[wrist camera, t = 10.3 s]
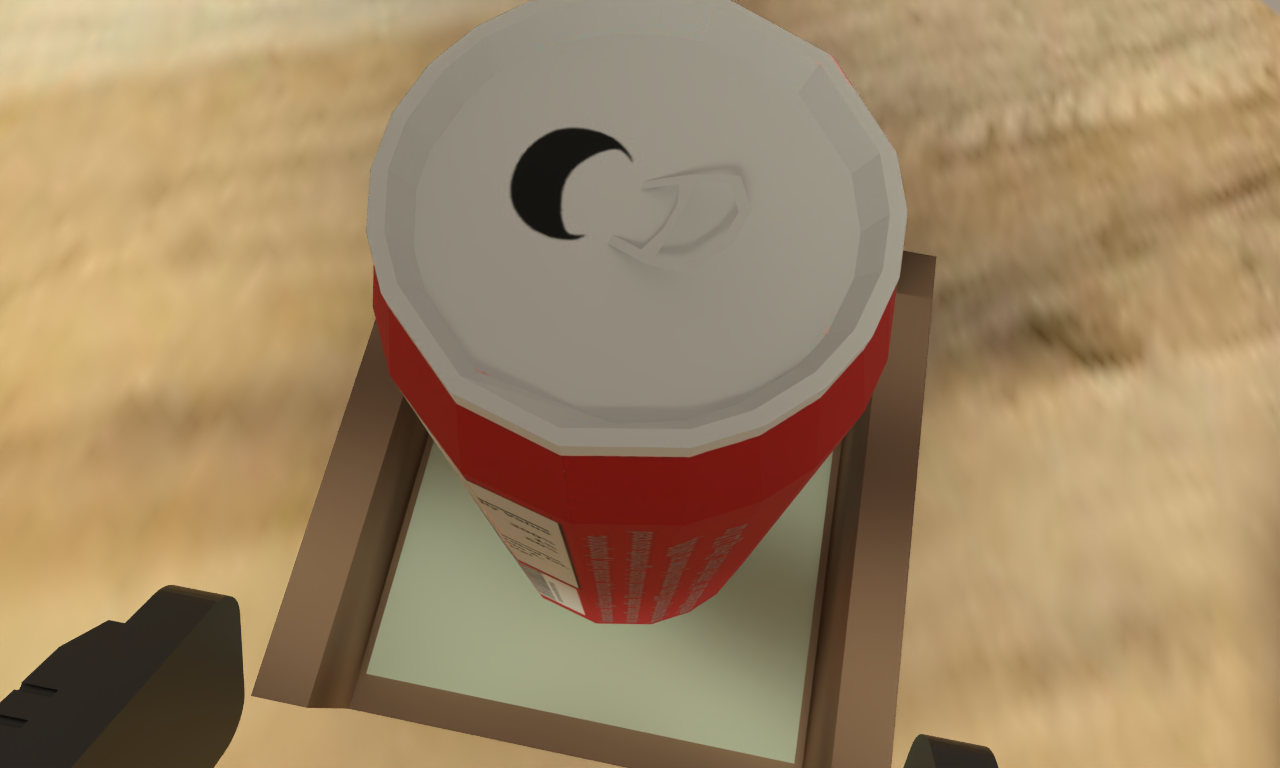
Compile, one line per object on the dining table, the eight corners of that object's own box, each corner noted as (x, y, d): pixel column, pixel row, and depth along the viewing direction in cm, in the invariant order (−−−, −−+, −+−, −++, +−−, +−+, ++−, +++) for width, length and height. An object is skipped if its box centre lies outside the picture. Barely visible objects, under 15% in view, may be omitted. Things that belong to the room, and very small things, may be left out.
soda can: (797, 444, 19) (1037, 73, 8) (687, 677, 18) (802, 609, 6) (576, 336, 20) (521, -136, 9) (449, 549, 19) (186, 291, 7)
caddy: (841, 811, 18) (885, 830, 15) (309, 698, 18) (250, 695, 15) (893, 318, 21) (936, 256, 19) (452, 237, 22) (426, 164, 19)
